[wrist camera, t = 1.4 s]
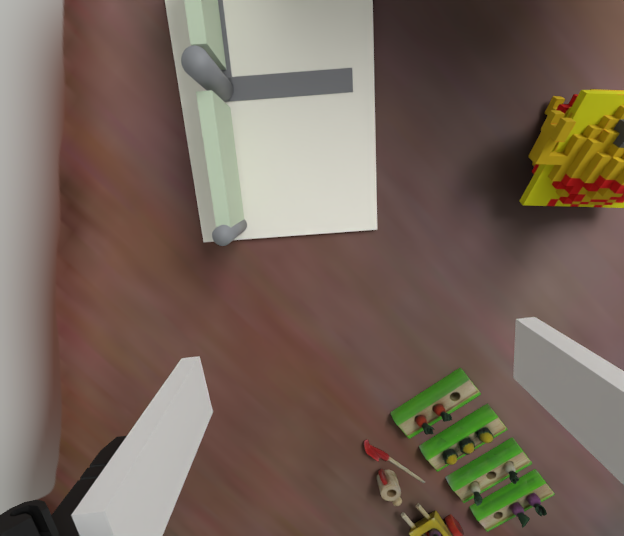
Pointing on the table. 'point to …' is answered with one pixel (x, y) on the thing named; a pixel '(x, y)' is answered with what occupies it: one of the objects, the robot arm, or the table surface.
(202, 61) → the fence fixed
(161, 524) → the robot arm
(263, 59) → the card
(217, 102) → the fence panel
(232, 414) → the table surface
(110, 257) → the table surface
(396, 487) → the toy garden set
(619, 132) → the toy
